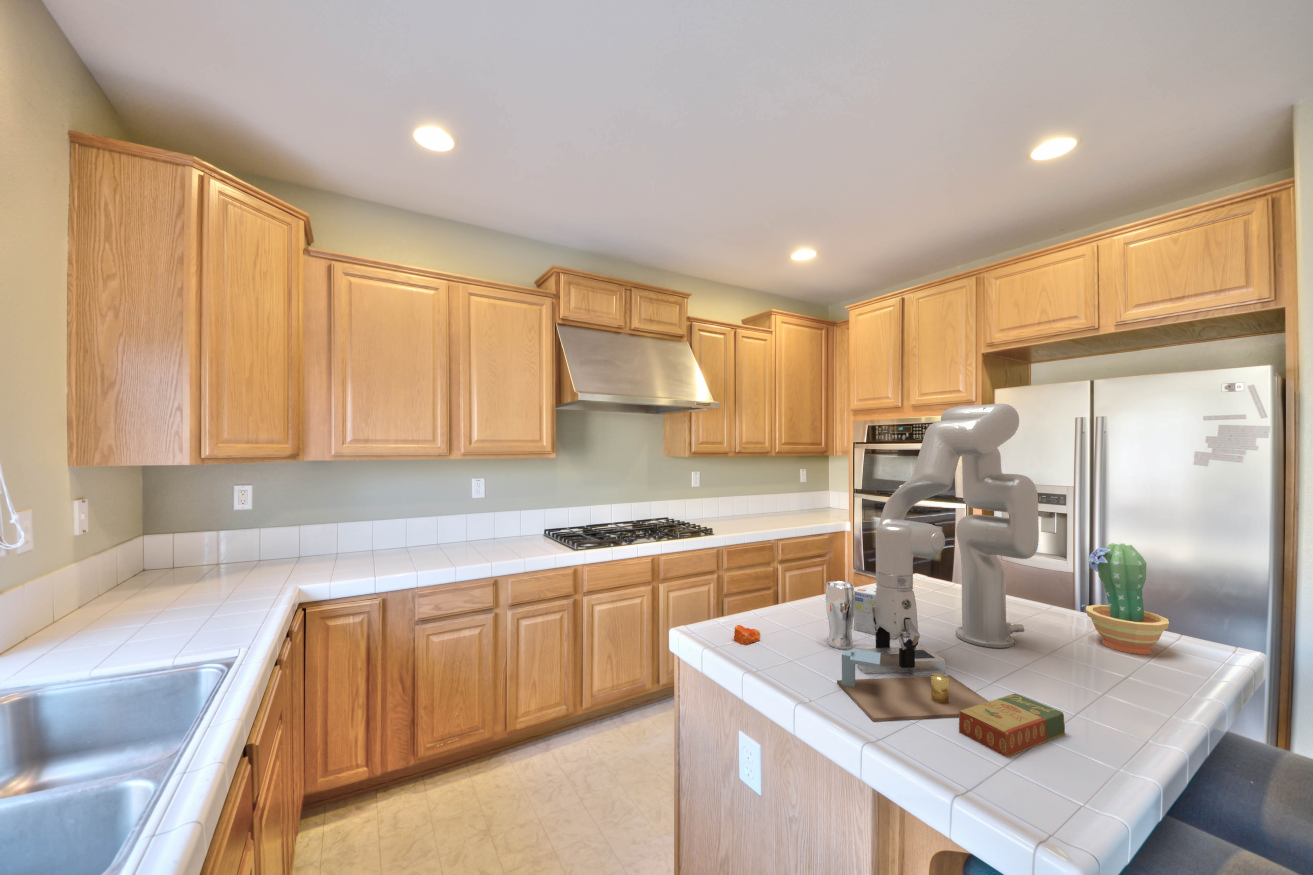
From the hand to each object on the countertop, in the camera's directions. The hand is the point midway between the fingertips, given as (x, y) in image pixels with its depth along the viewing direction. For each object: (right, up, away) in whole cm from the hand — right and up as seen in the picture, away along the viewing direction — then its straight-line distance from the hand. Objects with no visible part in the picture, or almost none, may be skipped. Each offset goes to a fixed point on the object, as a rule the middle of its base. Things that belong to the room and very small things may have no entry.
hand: (894, 657), depth 114 cm
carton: (+8, -3, -25) cm, 27 cm away
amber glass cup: (+2, -2, -15) cm, 16 cm away
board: (-2, -2, -13) cm, 13 cm away
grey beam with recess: (+1, -2, 0) cm, 3 cm away
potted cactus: (+63, -3, +12) cm, 64 cm away
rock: (-30, -4, +17) cm, 35 cm away
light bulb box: (+6, -3, +23) cm, 24 cm away
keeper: (-11, -2, -10) cm, 15 cm away
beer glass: (-7, -3, +14) cm, 16 cm away
